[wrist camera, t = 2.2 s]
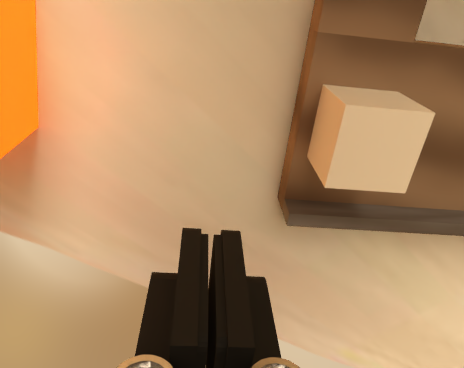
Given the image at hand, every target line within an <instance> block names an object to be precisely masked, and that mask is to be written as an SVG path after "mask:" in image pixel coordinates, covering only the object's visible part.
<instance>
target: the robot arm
mask: <svg viewBox="0 0 464 368" xmlns="http://www.w3.org/2000/svg"><path fill="white" fill-rule="evenodd" d="M116 368H300V367H299V366H297V365H296V364H294V363H292V362H291V361H289V360H286V359H282V358H281V354H280V349H279V344H278V339H277V334H276V329H275V323H274V318H273V313H272V308H271V303H270V298H269V293H268V288H267V283H266V279H265V278H264V277H251V276H246V272H245V264H244V257H243V249H242V241H241V234H240V231H230V230H221V235H214V238H213V248H212V258H211V268H210V278H209V288H208V234H201V229H194V228H183V231H182V240H181V249H180V258H179V267H178V273H159V272H152V275H151V279H150V284H149V289H148V294H147V299H146V304H145V309H144V314H143V318H142V323H141V328H140V333H139V338H138V343H137V348H136V354H135V356H134V357H131V358H129V359H127V360H126V361H124V362H122V363H121V364H120V365H119V366H117V367H116Z"/></svg>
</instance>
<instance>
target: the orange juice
mask: <svg viewBox="0 0 464 368" xmlns="http://www.w3.org/2000/svg"><path fill="white" fill-rule="evenodd" d="M37 128H38V87H37V46H36V5H35V0H0V159H1V158H2V157H3V156H4V155H6V154H7V153H8V152H9V151H10V150H12V149H13V148H14V147H15V146H16V145H18V144H19V143H20V142H21V141H22V140H24V139H25V138H26V137H27V136H28V135H30V134H31V133H32V132H33V131H34V130H36V129H37Z"/></svg>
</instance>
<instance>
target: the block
mask: <svg viewBox="0 0 464 368" xmlns="http://www.w3.org/2000/svg"><path fill="white" fill-rule="evenodd" d="M434 116H435V112H433V111H431V110H429V109H428V108H426V107H424V106H422V105H420V104H419V103H417V102H415V101H413V100H412V99H410V98H408V97H406V96H405V95H403V94H401V93H399V92H395V91H385V90H375V89H365V88H354V87H344V86H334V85H324V84H323V86H322V91H321V95H320V100H319V105H318V109H317V114H316V118H315V123H314V127H313V132H312V136H311V141H310V145H309V150H308V154H307V157H308V159H309V161H310V163H311V164H312V166H313V168H314V170H315V171H316V173H317V175H318V177H319V179H320V180H321V182H322V184H323V186H324V187H325V188H335V189H349V190H363V191H378V192H392V193H406V190H407V187H408V185H409V182H410V179H411V177H412V174H413V172H414V169H415V166H416V164H417V161H418V158H419V156H420V153H421V150H422V148H423V145H424V142H425V140H426V137H427V134H428V132H429V129H430V126H431V124H432V121H433V118H434Z"/></svg>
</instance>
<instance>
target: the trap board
mask: <svg viewBox="0 0 464 368" xmlns="http://www.w3.org/2000/svg"><path fill="white" fill-rule="evenodd" d="M426 2H427V0H315V3H314V9H313V14H312V19H311V24H310V30H309V35H308V40H307V45H306V51H305V56H304V61H303V66H302V72H301V77H300V82H299V87H298V93H297V98H296V103H295V108H294V114H293V119H292V124H291V129H290V135H289V140H288V145H287V151H286V156H285V161H284V166H283V172H282V177H281V182H280V187H279V193H278V199H279V202H280V206H281V209H282V212H283V215H284V218H285V221H286V224H287V226H302V227H319V228H336V229H354V230H371V231H388V232H405V233H422V234H439V235H456V236H464V46H462V45H453V44H444V43H435V42H426V41H417V40H415V37H416V33H417V30H418V27H419V24H420V21H421V18H422V15H423V11H424V8H425V5H426ZM323 84H324V85H334V86H344V87H354V88H365V89H375V90H385V91H395V92H399V93H401V94H403V95H405V96H406V97H408V98H410V99H412V100H413V101H415V102H417V103H419V104H420V105H422V106H424V107H426V108H428V109H429V110H431V111H433V112H435V116H434V118H433V121H432V124H431V126H430V129H429V132H428V134H427V137H426V140H425V142H424V145H423V148H422V150H421V153H420V156H419V158H418V161H417V164H416V166H415V169H414V172H413V174H412V177H411V179H410V182H409V185H408V187H407V190H406V193H392V192H378V191H363V190H349V189H335V188H325V187H324V186H323V184H322V182H321V180H320V179H319V177H318V175H317V173H316V171H315V170H314V168H313V166H312V164H311V163H310V161H309V159H308V157H307V154H308V150H309V145H310V141H311V136H312V132H313V127H314V123H315V118H316V114H317V109H318V105H319V100H320V95H321V91H322V86H323Z"/></svg>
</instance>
